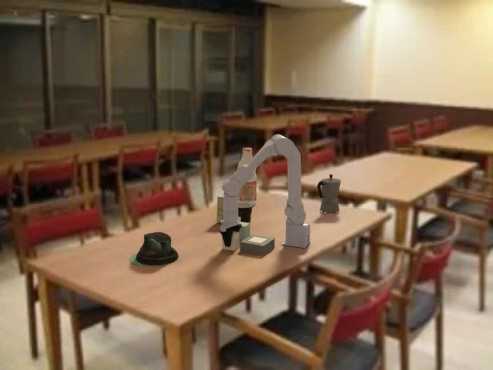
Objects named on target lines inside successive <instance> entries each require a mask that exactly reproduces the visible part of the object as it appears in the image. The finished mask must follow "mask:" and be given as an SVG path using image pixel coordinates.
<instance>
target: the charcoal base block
mask: <svg viewBox="0 0 493 370" xmlns="http://www.w3.org/2000/svg"><path fill="white" fill-rule="evenodd" d="M275 240H276V239H275V238H274V237H268V236H262V235H256V234H250V236H249V237H247V238H246V239H244V240H240V241H239V252H243V253H244V252H245V253H249V252H250V254H255V253H256V254H255V255H260V254H261V256H264V255H266V254H267V253H269V252H270V251H271V250H273V249H274V248H275V242H276V241H275ZM272 248H273V249H272ZM268 251H269V252H268ZM265 253H266V254H265Z"/></svg>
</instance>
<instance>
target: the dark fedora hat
mask: <svg viewBox="0 0 493 370" xmlns="http://www.w3.org/2000/svg"><path fill="white" fill-rule="evenodd" d="M172 240H173V239H172V237H171V235H169V233H165V232H162V231H155V232H149V233H145V234H143V243H142V245H141V247H140V248H139V251H138V252H137V253H134V254H132V255H131V256H130V257H129V262H130V263H131V264H133V265H135V266H137V267H141V268H142V267H144V266H153V267H154V266H158V267H159V266H163V267H164V268H166V267H167V265H169V264H172V263H174V262H176V261H178V259H179V258H180V257H179V254H178V251H177V250H176V249H175V248H174V247H172ZM164 265H165V266H164Z"/></svg>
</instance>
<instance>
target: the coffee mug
mask: <svg viewBox="0 0 493 370" xmlns="http://www.w3.org/2000/svg"><path fill="white" fill-rule="evenodd" d="M253 206H254V205H252V204H250V203H238V217H241V222H245V223H250V224H251V221H252V213H253Z"/></svg>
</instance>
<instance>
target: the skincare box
mask: <svg viewBox="0 0 493 370" xmlns="http://www.w3.org/2000/svg"><path fill="white" fill-rule="evenodd" d="M223 195H224V194H218V195H217V199H216V223H217V224H222V223H221V220H223V199H224V197H223Z"/></svg>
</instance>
